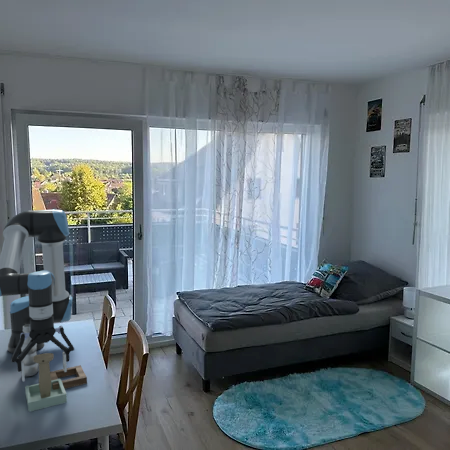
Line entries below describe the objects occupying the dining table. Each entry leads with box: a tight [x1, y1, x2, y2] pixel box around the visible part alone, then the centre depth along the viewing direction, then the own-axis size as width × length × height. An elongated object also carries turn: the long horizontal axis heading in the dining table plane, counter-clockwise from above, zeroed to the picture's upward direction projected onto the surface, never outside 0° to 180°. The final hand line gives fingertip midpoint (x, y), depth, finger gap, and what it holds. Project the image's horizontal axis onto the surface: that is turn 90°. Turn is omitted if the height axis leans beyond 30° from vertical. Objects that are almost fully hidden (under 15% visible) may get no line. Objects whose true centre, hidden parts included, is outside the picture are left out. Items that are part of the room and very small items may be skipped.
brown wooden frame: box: [50, 364, 88, 390], centre depth 161 cm, size 12×12×2 cm
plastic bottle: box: [21, 324, 39, 377], centre depth 165 cm, size 6×7×20 cm
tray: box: [24, 378, 68, 413], centre depth 148 cm, size 13×12×3 cm
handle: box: [34, 352, 55, 398], centre depth 147 cm, size 5×6×15 cm
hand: (44, 375), depth 147 cm, fingers open, 13 cm apart
